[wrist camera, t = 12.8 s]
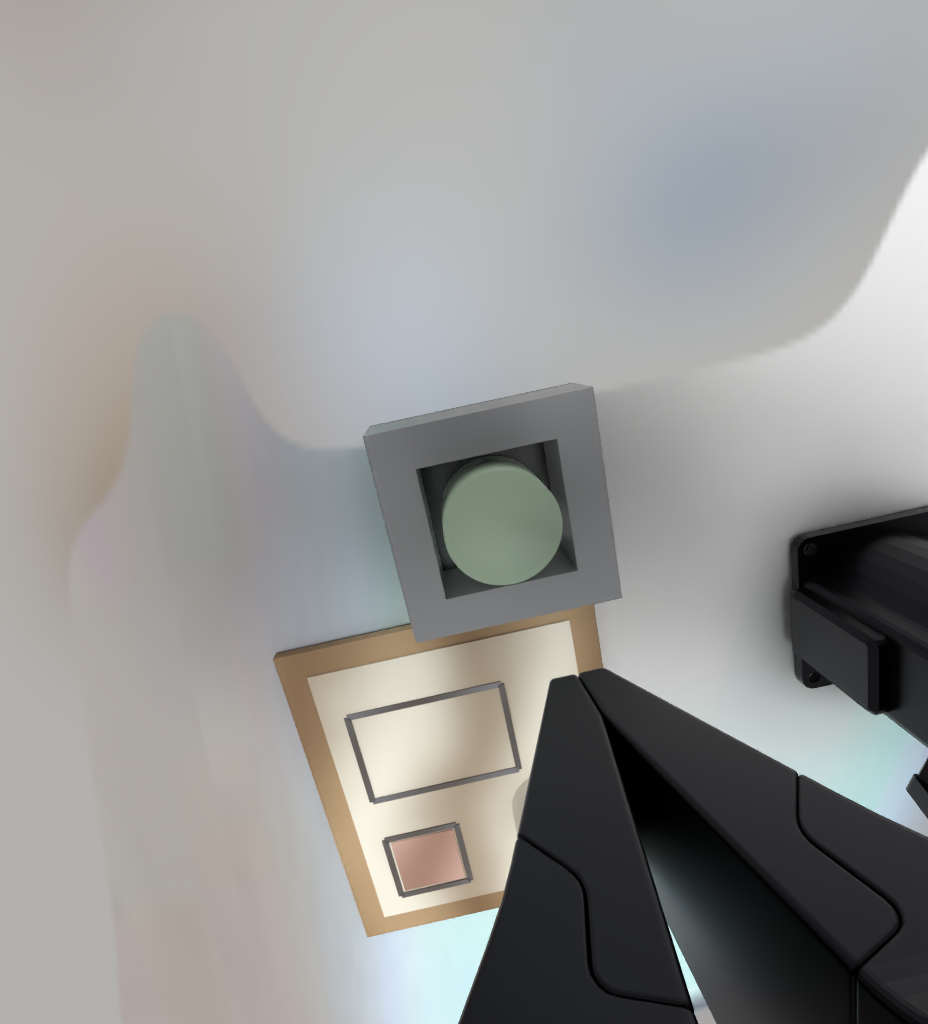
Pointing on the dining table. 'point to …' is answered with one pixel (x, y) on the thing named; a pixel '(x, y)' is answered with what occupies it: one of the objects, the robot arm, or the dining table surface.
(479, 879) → the drawing board
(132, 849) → the dining table surface
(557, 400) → the button housing
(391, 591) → the dining table surface
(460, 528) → the button
